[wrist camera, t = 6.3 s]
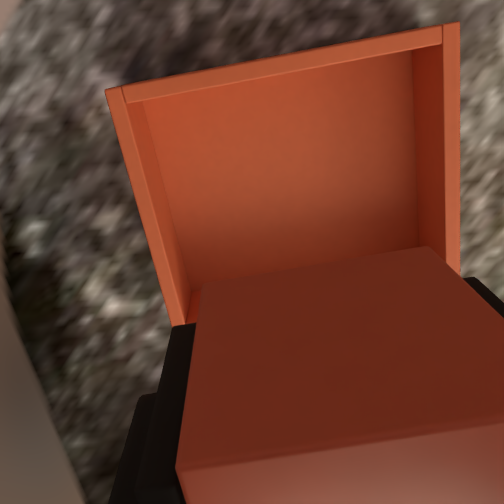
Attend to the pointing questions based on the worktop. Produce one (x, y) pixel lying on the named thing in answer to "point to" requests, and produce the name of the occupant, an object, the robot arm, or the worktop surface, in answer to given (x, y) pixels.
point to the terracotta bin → (296, 159)
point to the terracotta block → (345, 387)
